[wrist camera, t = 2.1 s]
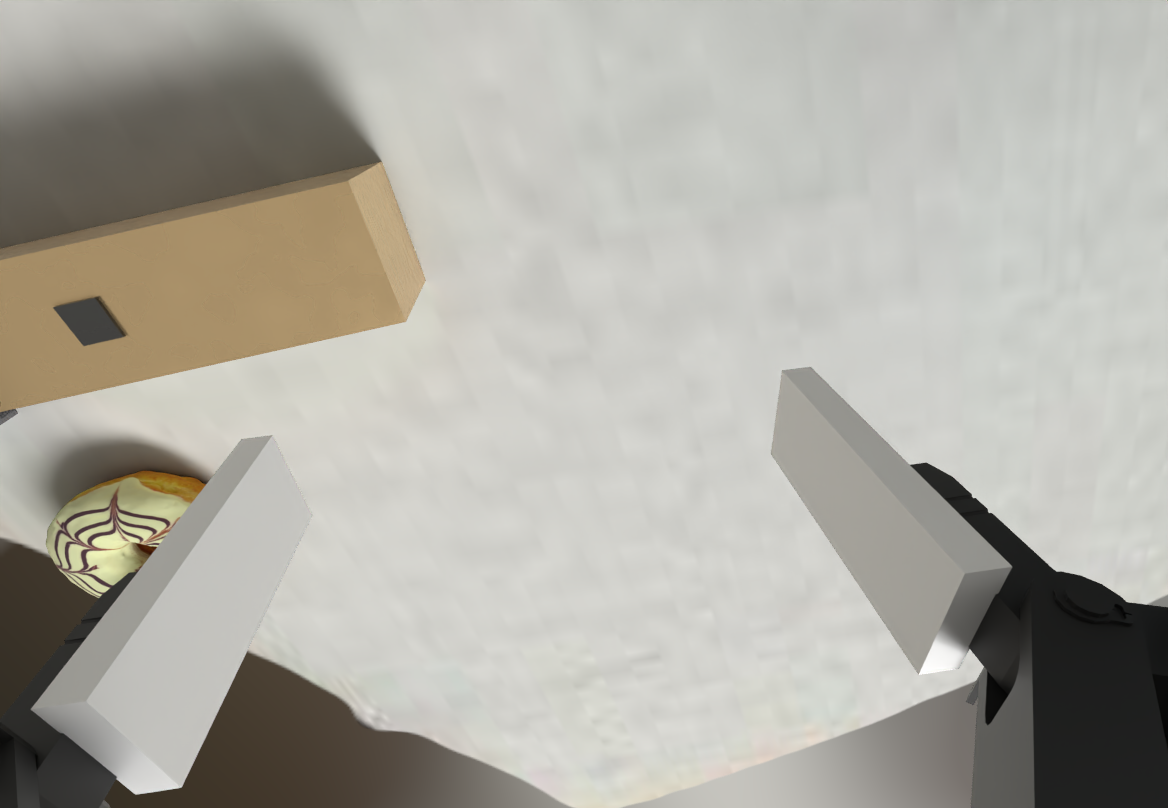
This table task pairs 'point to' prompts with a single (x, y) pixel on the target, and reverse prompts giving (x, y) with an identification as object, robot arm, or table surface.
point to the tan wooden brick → (203, 285)
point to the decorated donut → (117, 526)
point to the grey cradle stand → (7, 415)
